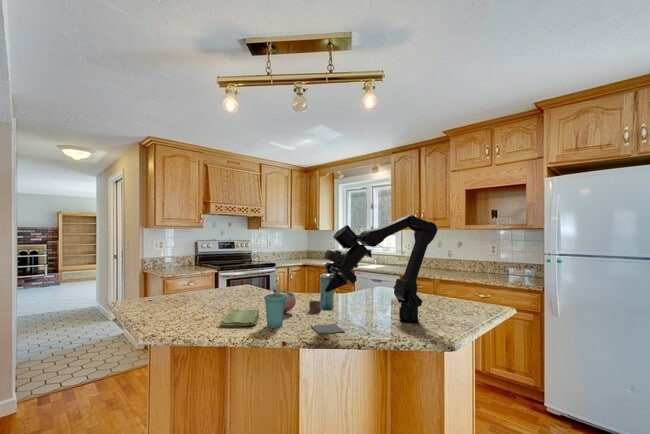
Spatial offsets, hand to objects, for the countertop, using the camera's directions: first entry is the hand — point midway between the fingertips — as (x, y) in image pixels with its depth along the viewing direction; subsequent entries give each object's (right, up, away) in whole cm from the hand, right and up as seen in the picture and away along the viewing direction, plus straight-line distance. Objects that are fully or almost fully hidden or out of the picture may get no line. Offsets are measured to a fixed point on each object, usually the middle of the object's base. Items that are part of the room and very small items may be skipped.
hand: (323, 290), depth 113 cm
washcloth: (-31, -14, +10) cm, 36 cm away
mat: (+1, -14, -1) cm, 14 cm away
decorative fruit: (-16, -14, +21) cm, 30 cm away
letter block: (-3, -15, +26) cm, 30 cm away
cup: (-17, -14, +3) cm, 22 cm away
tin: (+1, -7, 0) cm, 7 cm away
